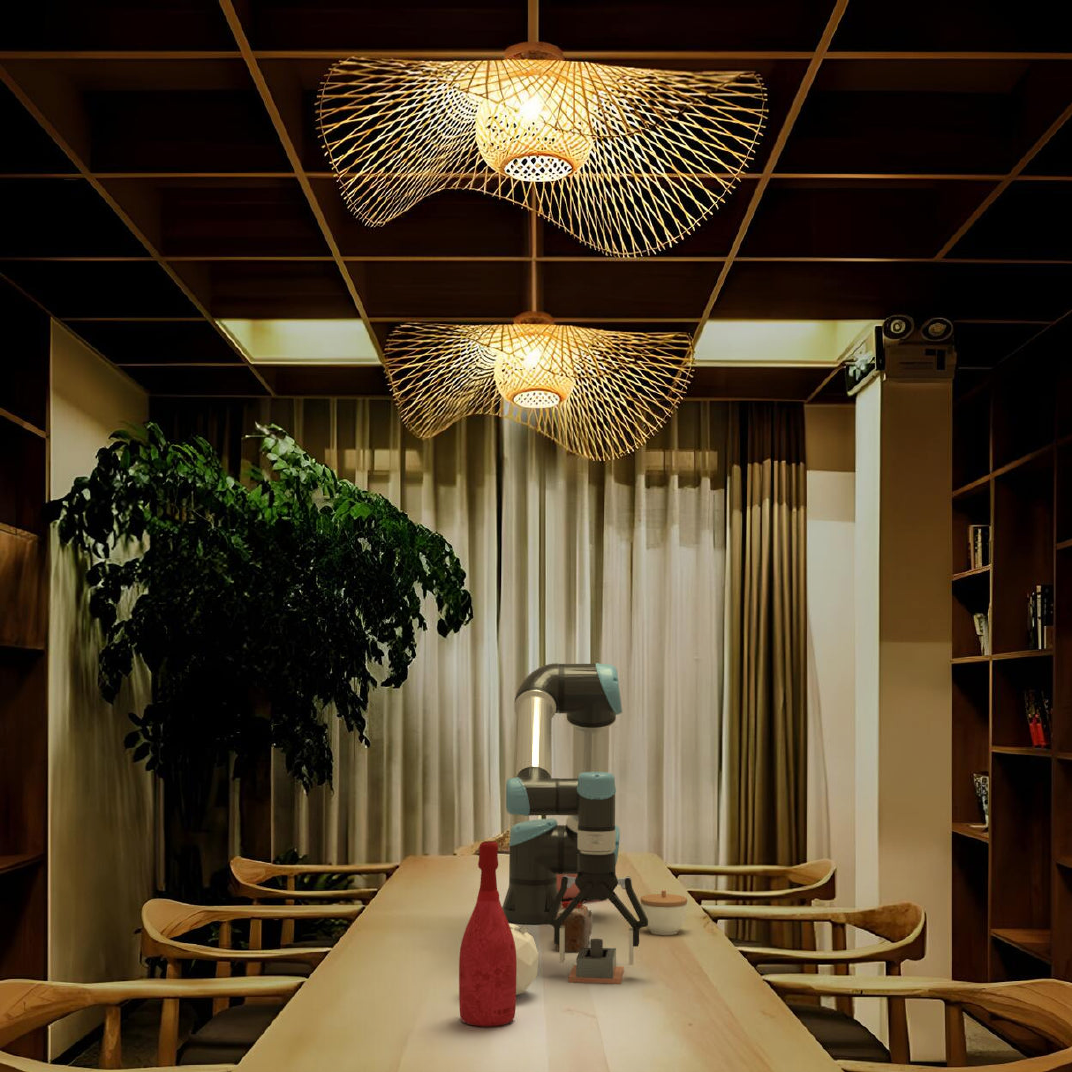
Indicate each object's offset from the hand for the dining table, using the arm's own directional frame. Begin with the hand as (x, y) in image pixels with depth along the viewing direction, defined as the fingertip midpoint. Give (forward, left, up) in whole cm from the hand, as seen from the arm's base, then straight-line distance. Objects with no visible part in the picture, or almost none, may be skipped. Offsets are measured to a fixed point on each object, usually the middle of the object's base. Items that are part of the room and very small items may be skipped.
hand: (596, 962), depth 245 cm
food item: (-28, -7, -3) cm, 29 cm away
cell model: (-85, -13, -3) cm, 86 cm away
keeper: (0, 0, -3) cm, 3 cm away
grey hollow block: (0, 0, -2) cm, 2 cm away
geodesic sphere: (+17, -16, -3) cm, 24 cm away
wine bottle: (+34, -16, -3) cm, 38 cm away
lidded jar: (-45, +12, -3) cm, 47 cm away
